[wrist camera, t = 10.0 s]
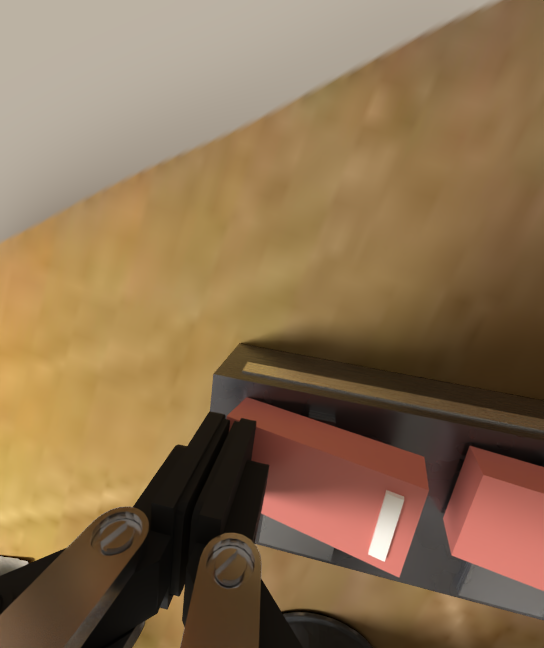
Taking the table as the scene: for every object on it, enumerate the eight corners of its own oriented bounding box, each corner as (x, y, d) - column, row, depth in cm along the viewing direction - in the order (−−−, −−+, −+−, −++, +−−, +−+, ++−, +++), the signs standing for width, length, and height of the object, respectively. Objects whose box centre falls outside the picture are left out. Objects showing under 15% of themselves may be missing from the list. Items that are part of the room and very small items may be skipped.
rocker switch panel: (829, 453, 13) (1077, 555, 9) (727, 589, 15) (886, 725, 11) (239, 342, 16) (209, 377, 12) (224, 469, 18) (194, 538, 14)
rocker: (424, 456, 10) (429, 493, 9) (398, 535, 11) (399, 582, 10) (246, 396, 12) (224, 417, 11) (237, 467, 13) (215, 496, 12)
